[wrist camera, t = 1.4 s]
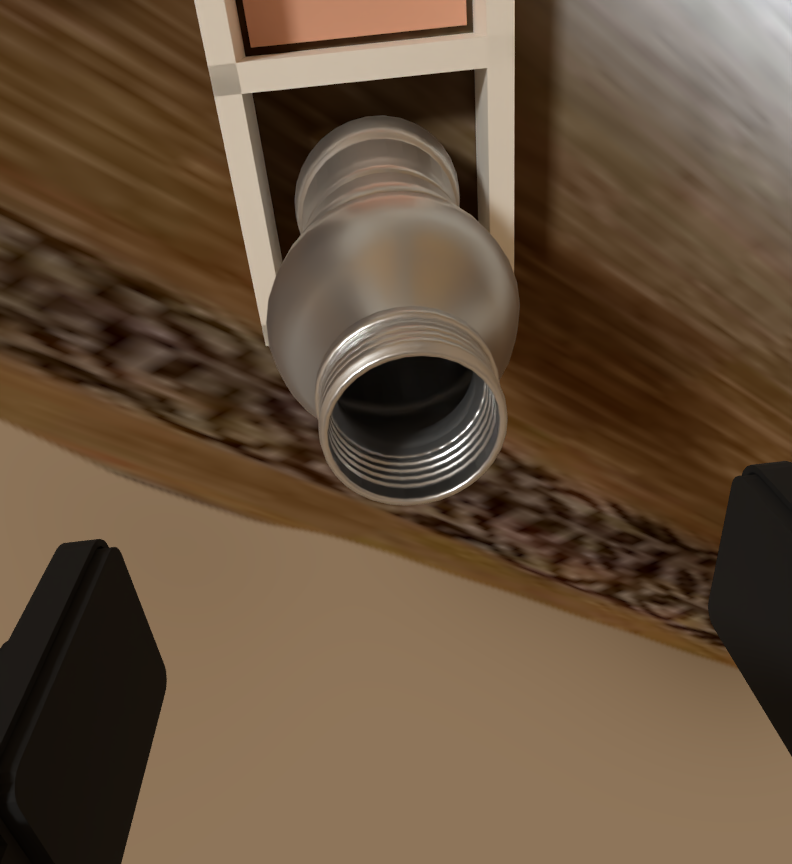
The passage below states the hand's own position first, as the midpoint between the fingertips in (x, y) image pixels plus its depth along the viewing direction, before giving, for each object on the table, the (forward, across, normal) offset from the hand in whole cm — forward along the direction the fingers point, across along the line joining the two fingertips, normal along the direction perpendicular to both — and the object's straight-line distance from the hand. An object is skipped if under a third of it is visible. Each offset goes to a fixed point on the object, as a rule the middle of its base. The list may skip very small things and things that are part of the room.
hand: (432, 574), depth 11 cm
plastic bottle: (+24, 0, -1) cm, 24 cm away
